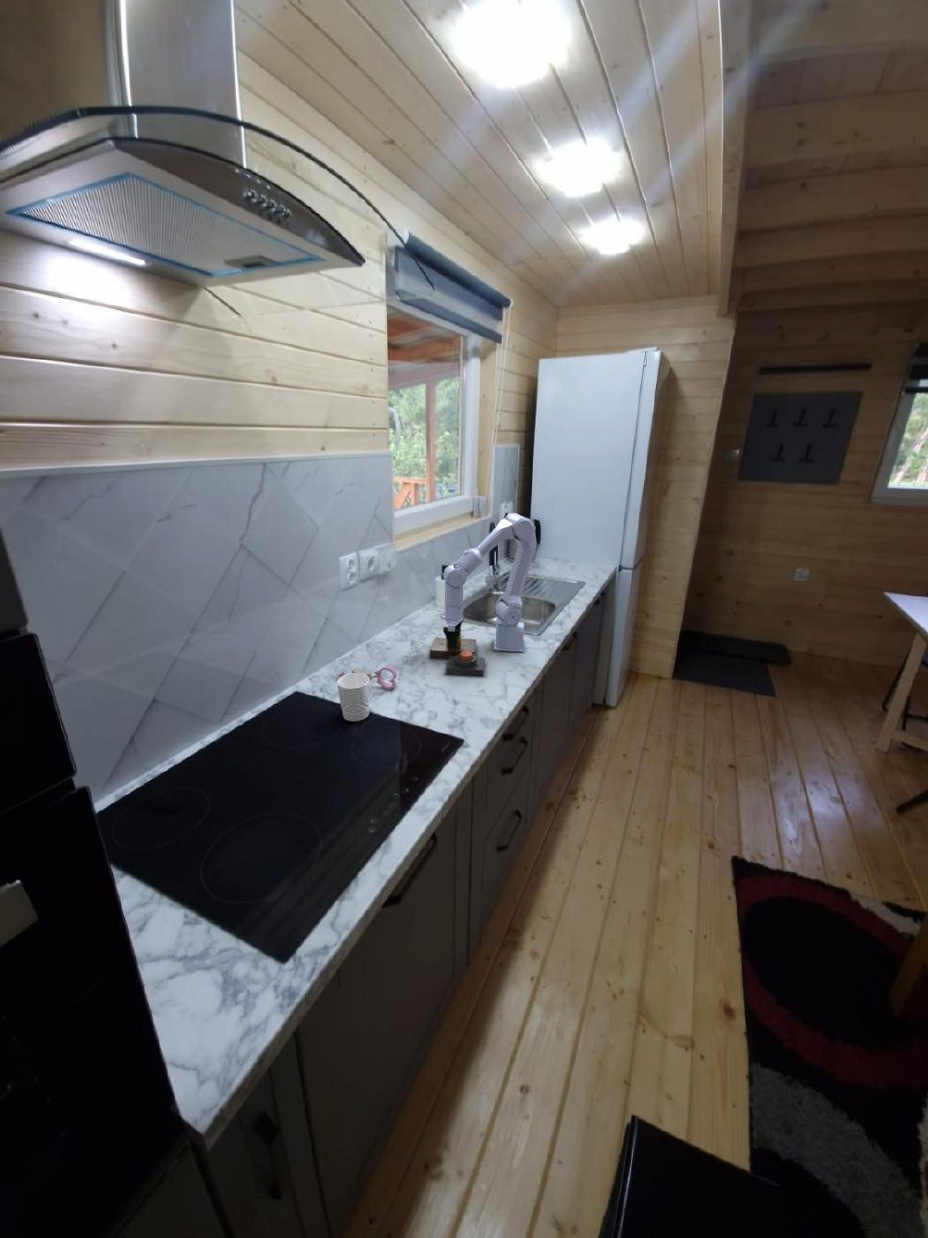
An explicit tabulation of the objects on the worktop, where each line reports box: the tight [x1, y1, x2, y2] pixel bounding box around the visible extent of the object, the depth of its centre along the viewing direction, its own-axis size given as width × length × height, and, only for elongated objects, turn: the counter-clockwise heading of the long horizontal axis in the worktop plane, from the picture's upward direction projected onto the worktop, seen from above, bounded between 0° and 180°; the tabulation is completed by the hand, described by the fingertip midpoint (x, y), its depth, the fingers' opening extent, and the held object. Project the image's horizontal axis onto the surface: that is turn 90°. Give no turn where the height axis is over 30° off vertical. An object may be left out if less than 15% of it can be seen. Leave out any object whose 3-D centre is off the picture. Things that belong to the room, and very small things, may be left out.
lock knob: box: [445, 632, 462, 646], centre depth 160 cm, size 5×2×4 cm, turn 85°
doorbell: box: [446, 654, 486, 677], centre depth 151 cm, size 11×8×4 cm
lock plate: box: [429, 636, 477, 660], centre depth 161 cm, size 14×10×3 cm
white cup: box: [336, 672, 371, 722], centre depth 126 cm, size 8×8×10 cm
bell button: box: [460, 651, 472, 661], centre depth 150 cm, size 4×4×2 cm
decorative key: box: [335, 665, 397, 690], centre depth 142 cm, size 7×1×20 cm
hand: (453, 643), depth 161 cm, fingers open, 7 cm apart
